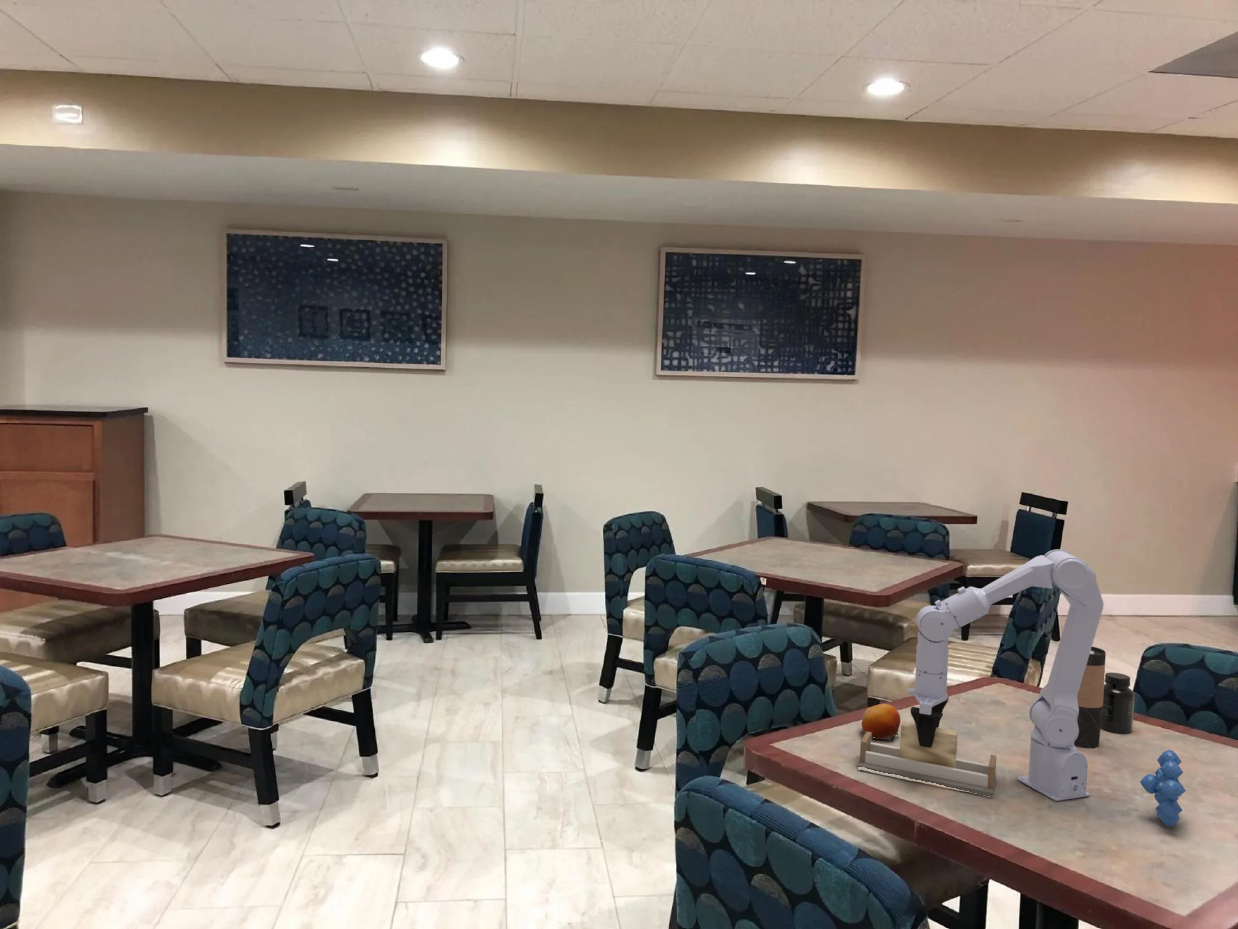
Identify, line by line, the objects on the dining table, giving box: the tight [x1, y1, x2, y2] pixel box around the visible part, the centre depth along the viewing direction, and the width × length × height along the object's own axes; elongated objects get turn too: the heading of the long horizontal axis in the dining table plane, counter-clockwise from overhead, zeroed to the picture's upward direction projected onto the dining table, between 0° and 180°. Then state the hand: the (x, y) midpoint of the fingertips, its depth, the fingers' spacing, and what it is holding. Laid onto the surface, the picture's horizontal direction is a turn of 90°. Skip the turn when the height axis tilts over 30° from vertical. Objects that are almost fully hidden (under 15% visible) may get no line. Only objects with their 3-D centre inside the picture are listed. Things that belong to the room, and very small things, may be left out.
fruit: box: [861, 703, 901, 741], centre depth 186 cm, size 8×8×8 cm
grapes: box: [1139, 749, 1186, 828], centre depth 150 cm, size 12×7×12 cm, turn 152°
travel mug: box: [1074, 646, 1107, 749], centre depth 185 cm, size 8×8×20 cm
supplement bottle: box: [1100, 671, 1135, 735], centre depth 193 cm, size 7×7×12 cm
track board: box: [857, 732, 997, 798], centre depth 167 cm, size 24×10×5 cm, turn 63°
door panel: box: [899, 721, 959, 768], centre depth 167 cm, size 10×2×8 cm, turn 63°
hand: (928, 739), depth 167 cm, fingers open, 7 cm apart
